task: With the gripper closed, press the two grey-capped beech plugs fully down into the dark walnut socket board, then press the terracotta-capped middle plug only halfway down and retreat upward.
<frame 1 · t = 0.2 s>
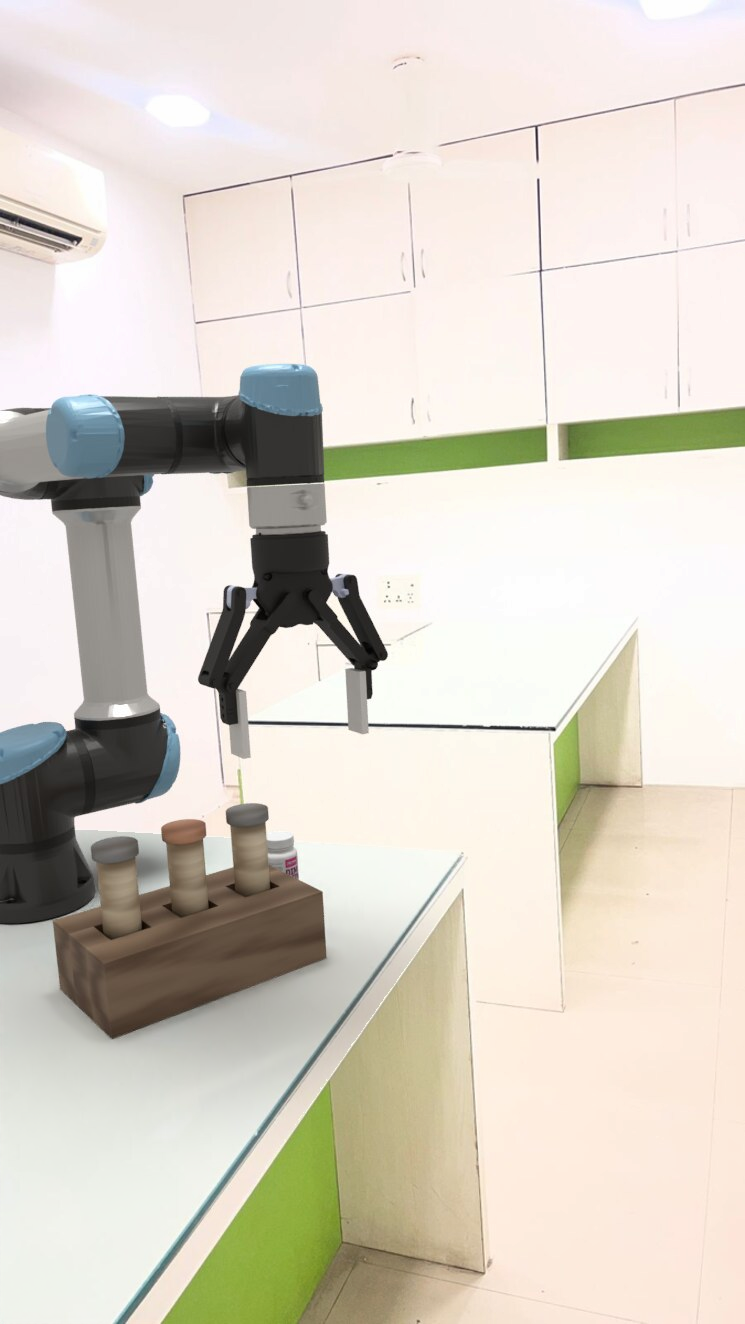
hand: (301, 743, 104), 28 cm above the table, fingers open, 13 cm apart
plug 2: (250, 860, 119), point 11 cm above the table, slide at 0.0 cm
pill bottle: (282, 897, 137), on the table
plug middle: (187, 879, 114), point 11 cm above the table, slide at 0.0 cm
socket board: (195, 973, 116), on the table
plug 1: (119, 899, 110), point 11 cm above the table, slide at 0.0 cm
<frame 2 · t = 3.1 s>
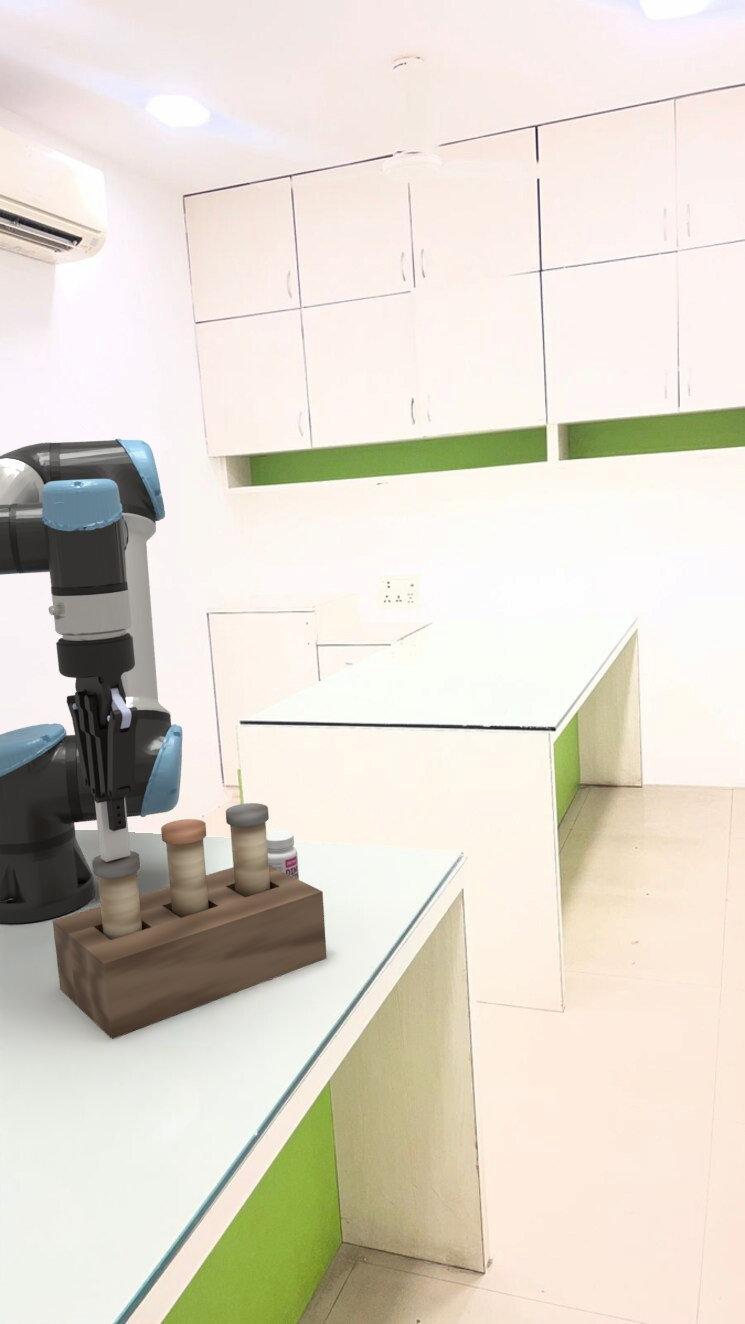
hand: (115, 856, 109), 16 cm above the table, fingers closed
plug 1: (121, 913, 110), point 10 cm above the table, slide at 1.6 cm, touching gripper
everything else where it was.
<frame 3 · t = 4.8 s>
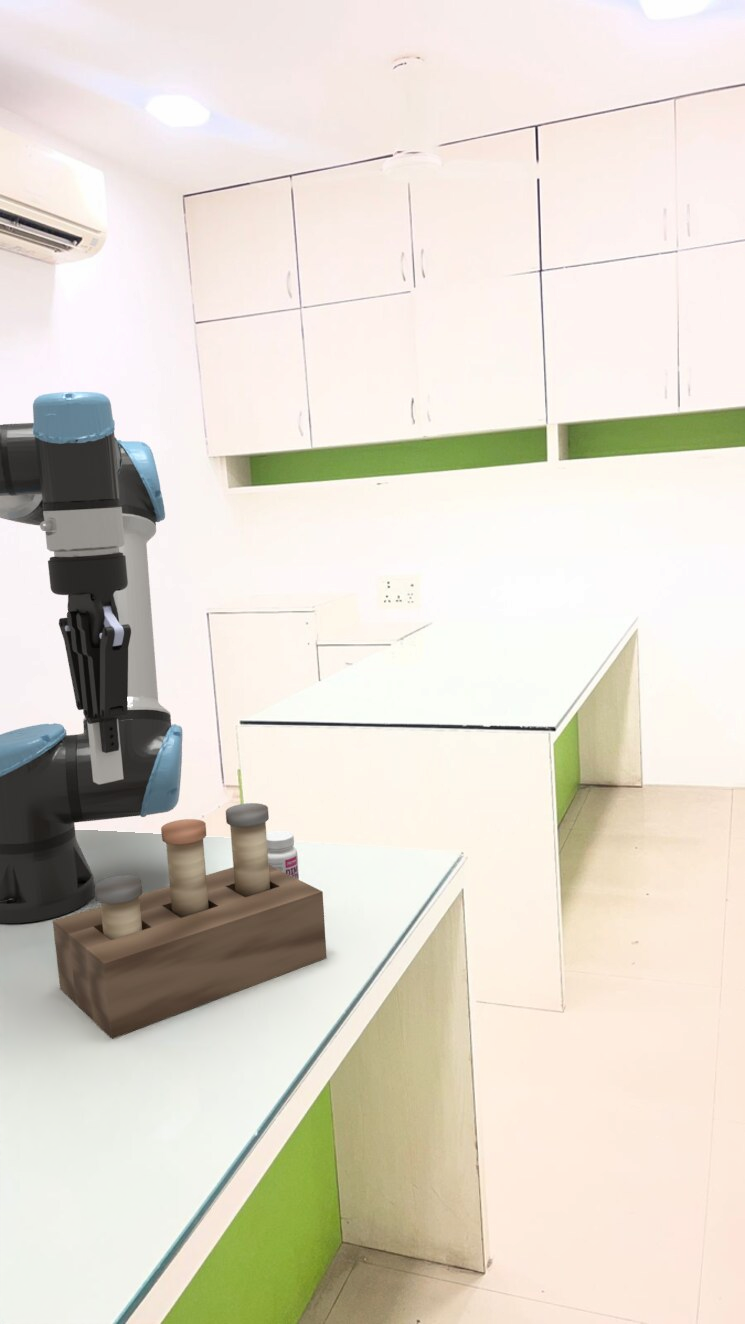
hand: (108, 780, 108), 24 cm above the table, fingers closed
plug 1: (123, 938, 111), point 7 cm above the table, slide at 4.4 cm
everything else where it was.
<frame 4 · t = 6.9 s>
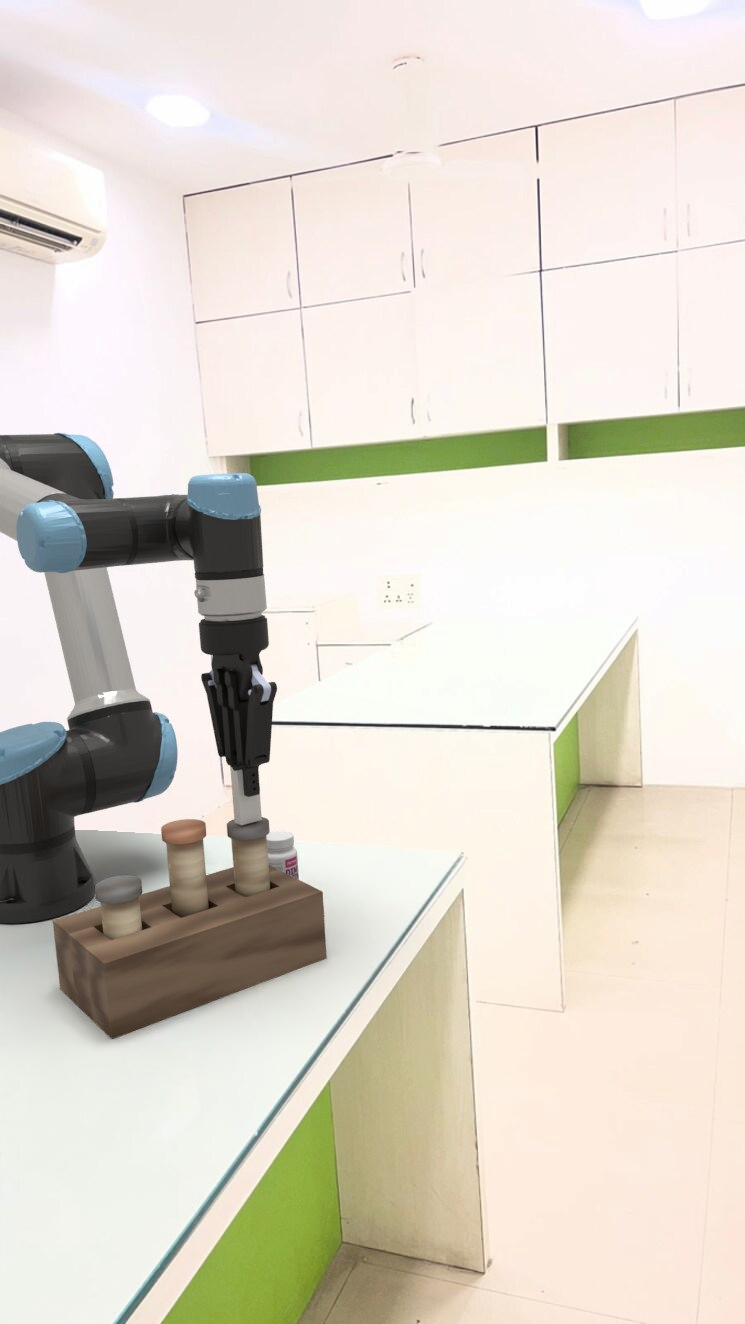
hand: (248, 821, 118), 16 cm above the table, fingers closed
plug 2: (251, 873, 119), point 10 cm above the table, slide at 1.6 cm, touching gripper
everything else where it was.
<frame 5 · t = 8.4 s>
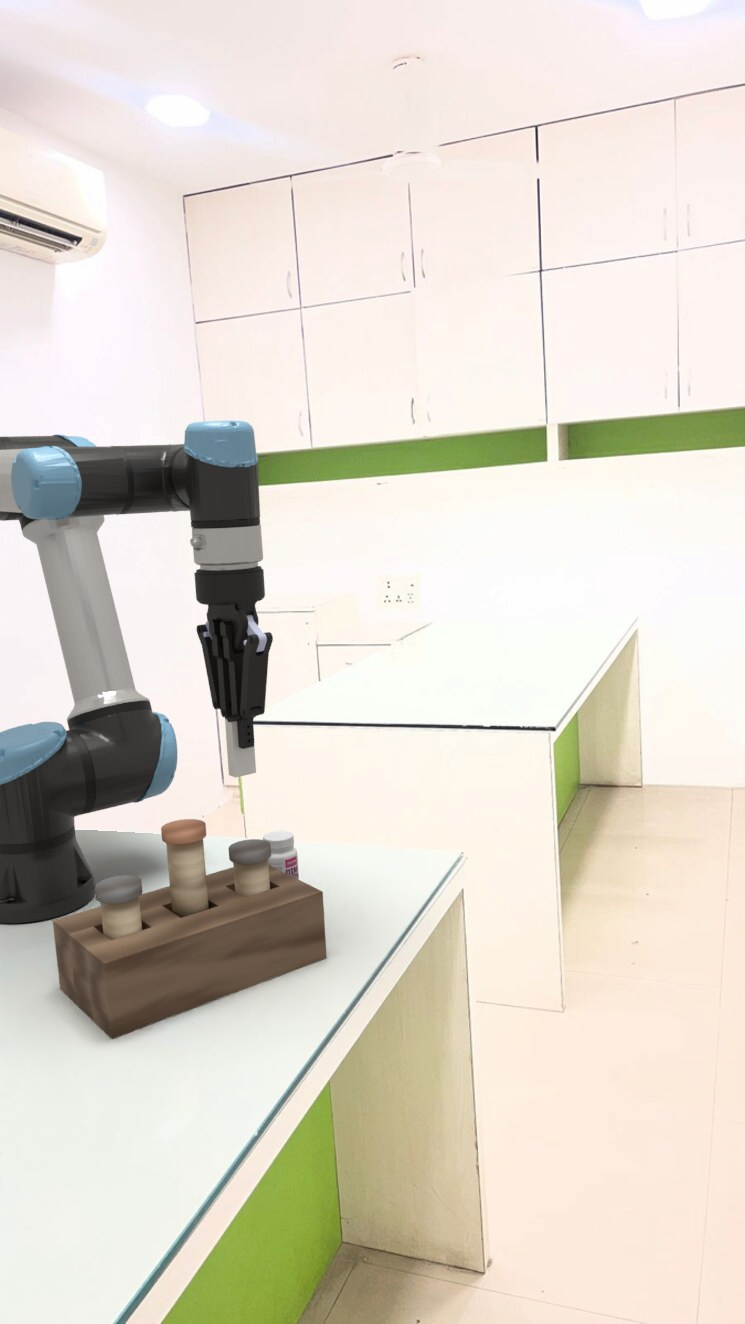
hand: (242, 773, 118), 21 cm above the table, fingers closed
plug 2: (253, 896, 120), point 7 cm above the table, slide at 4.4 cm
everything else where it was.
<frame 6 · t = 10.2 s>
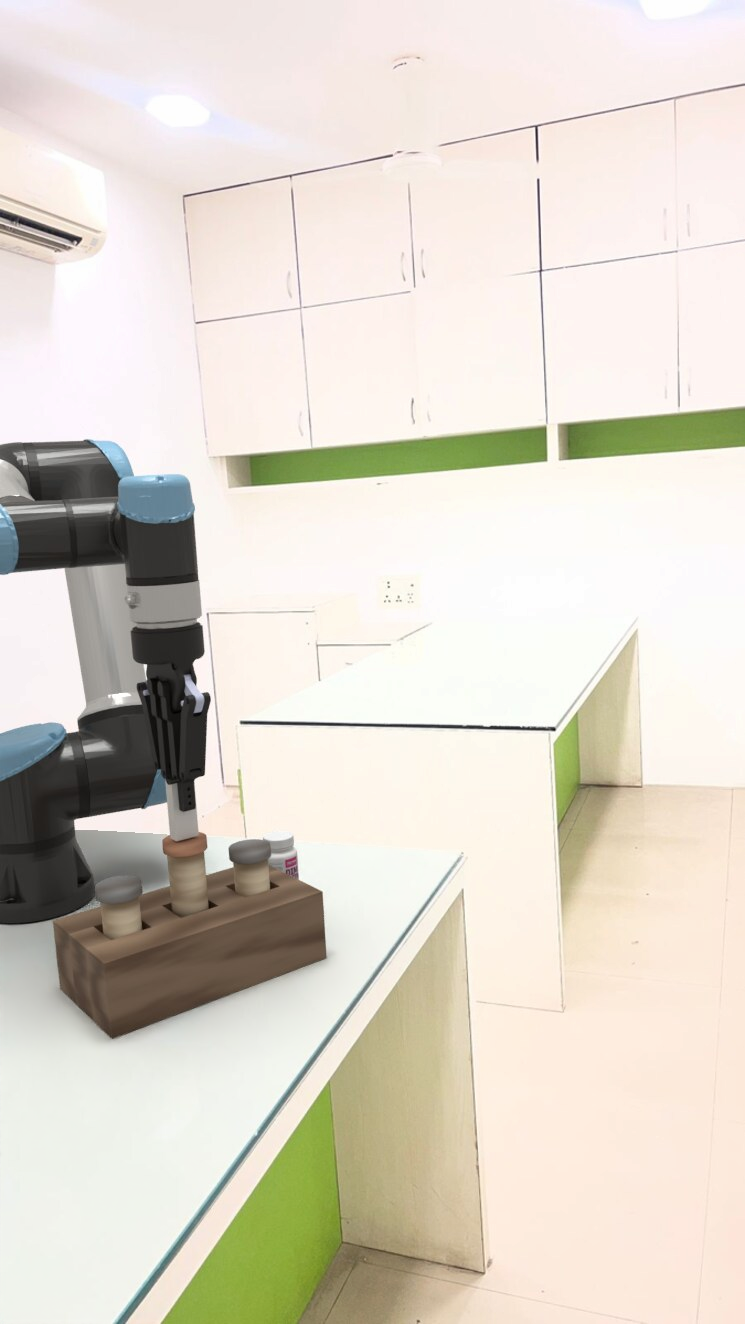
hand: (184, 836, 114), 16 cm above the table, fingers closed
plug middle: (188, 891, 115), point 10 cm above the table, slide at 1.4 cm, touching gripper
everything else where it was.
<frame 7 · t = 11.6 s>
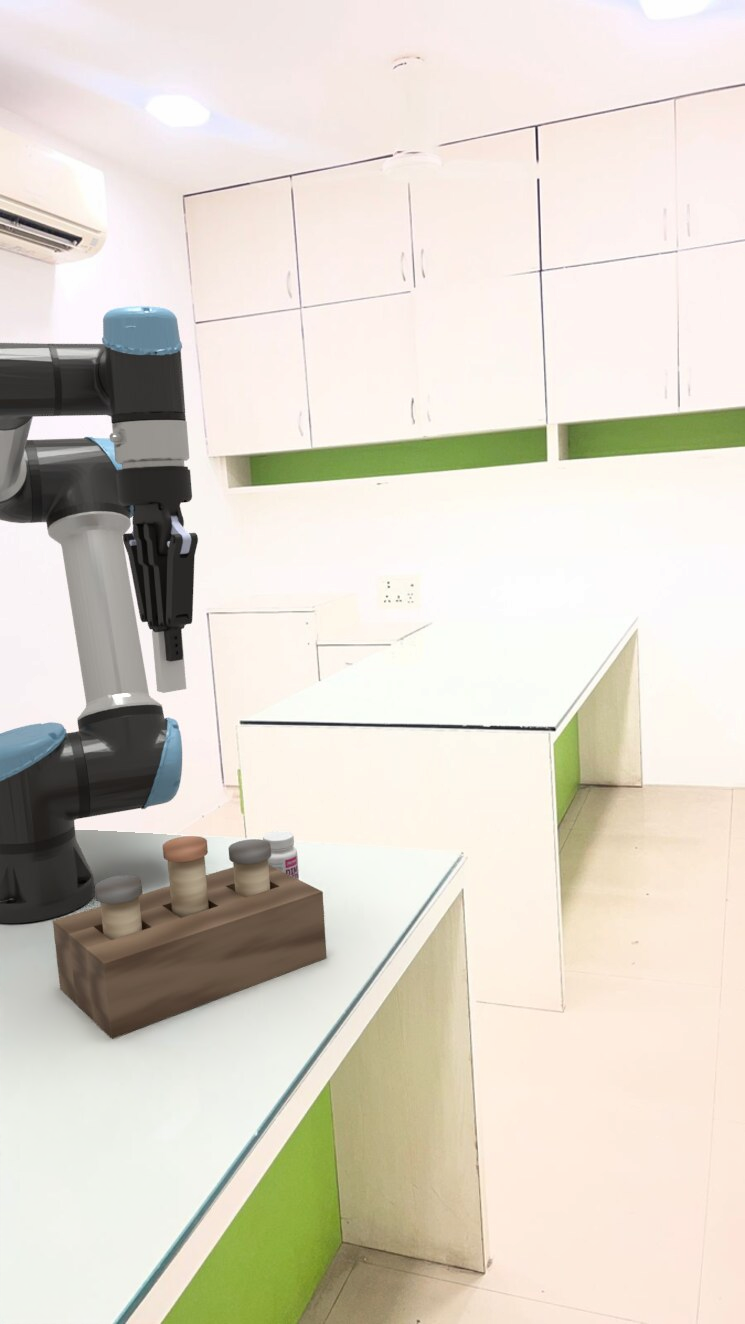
hand: (171, 689, 111), 32 cm above the table, fingers closed
plug middle: (189, 896, 115), point 9 cm above the table, slide at 2.0 cm
everything else where it was.
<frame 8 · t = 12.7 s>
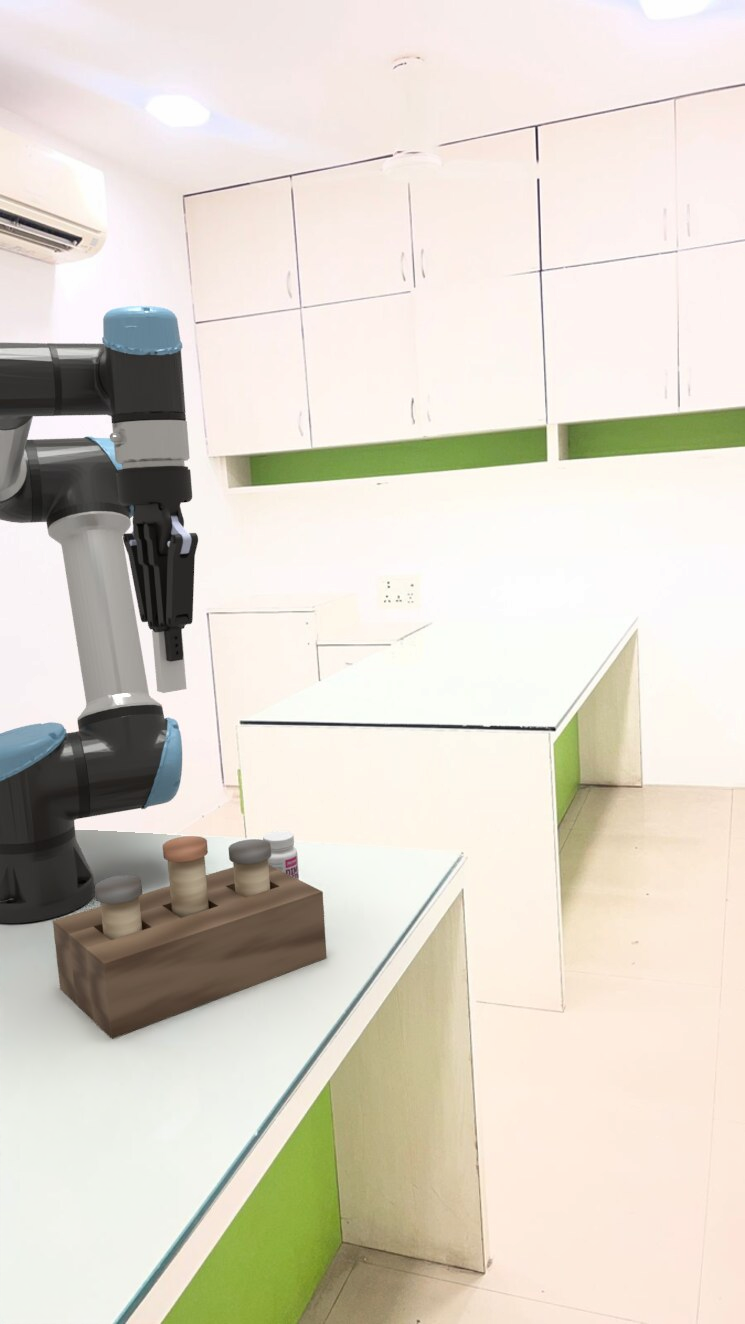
hand: (171, 689, 111), 32 cm above the table, fingers closed
nothing on the table moved.
at the end: plug 1 slide at 4.4 cm; plug 2 slide at 4.4 cm; plug middle slide at 2.0 cm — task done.
